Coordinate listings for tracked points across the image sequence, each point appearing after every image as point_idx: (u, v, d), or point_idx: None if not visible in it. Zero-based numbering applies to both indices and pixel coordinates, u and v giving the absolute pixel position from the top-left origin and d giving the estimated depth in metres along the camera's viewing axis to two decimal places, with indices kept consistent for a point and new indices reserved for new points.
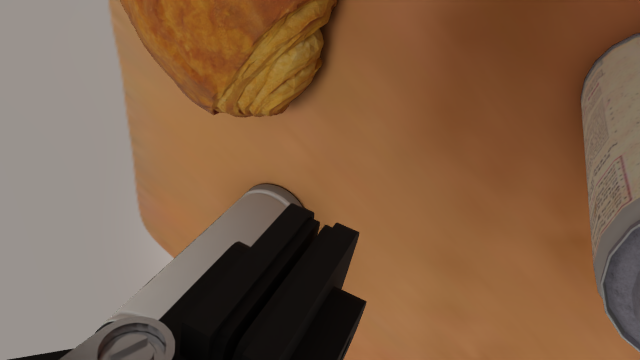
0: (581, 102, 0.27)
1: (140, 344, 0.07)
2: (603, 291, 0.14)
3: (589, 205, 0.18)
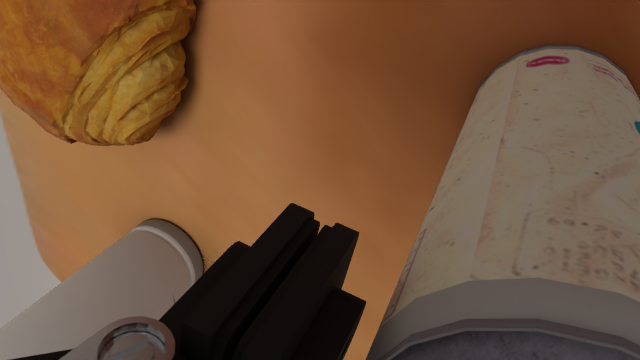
0: None
1: (141, 343, 0.07)
2: None
3: None
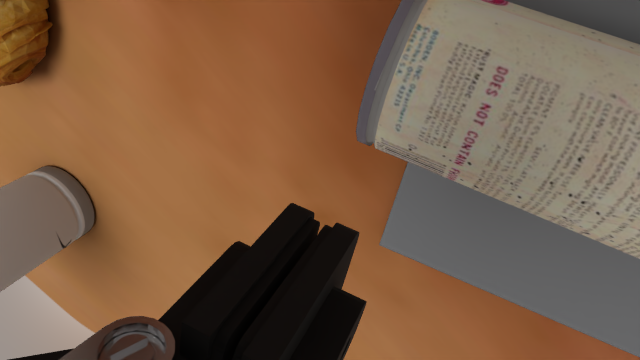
0: (398, 96, 0.16)
1: (141, 344, 0.07)
2: None
3: None
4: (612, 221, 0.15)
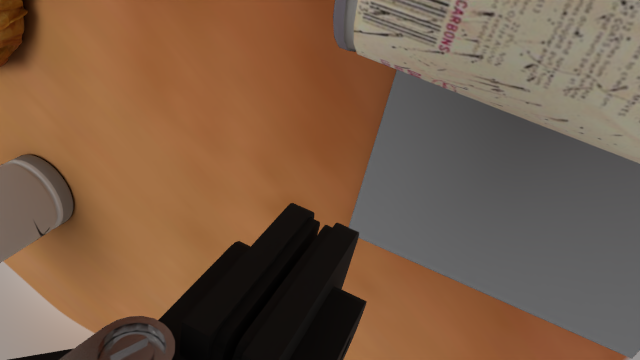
0: None
1: (141, 343, 0.07)
2: None
3: None
4: None
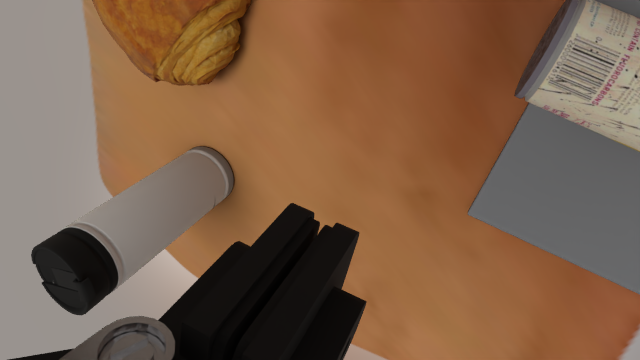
0: (591, 7, 0.27)
1: (140, 344, 0.07)
2: None
3: None
4: None
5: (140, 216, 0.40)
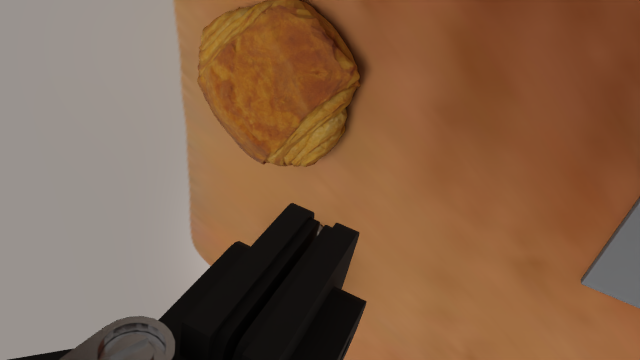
0: None
1: (141, 344, 0.07)
2: None
3: None
4: None
5: None
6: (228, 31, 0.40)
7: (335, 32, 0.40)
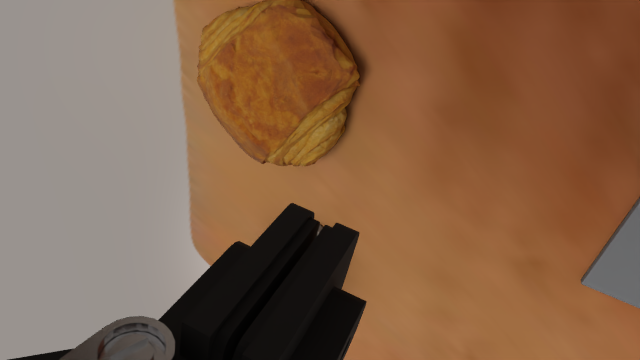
0: None
1: (141, 344, 0.07)
2: None
3: None
4: None
5: None
6: (228, 30, 0.40)
7: (335, 32, 0.40)
